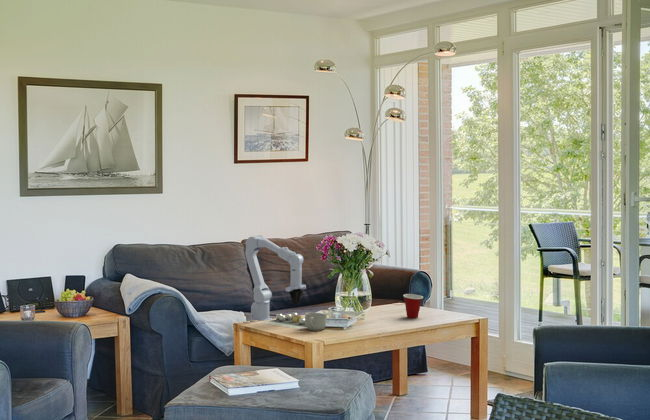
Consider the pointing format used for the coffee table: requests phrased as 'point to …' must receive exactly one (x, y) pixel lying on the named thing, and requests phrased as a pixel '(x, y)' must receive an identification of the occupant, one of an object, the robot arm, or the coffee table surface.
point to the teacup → (315, 321)
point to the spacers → (289, 318)
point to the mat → (285, 324)
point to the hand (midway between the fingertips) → (295, 303)
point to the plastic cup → (412, 305)
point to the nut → (295, 318)
